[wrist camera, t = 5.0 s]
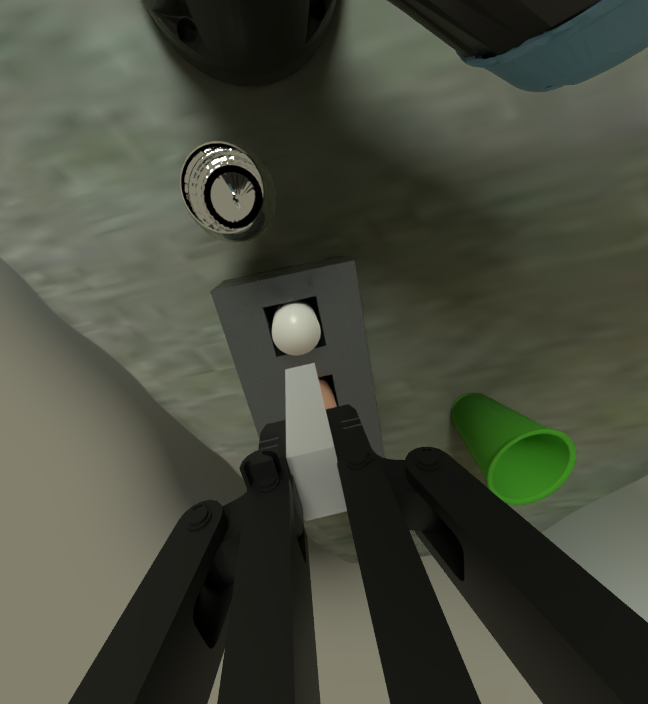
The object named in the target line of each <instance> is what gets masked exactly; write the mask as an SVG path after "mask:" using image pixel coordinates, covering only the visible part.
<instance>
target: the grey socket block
mask: <svg viewBox="0 0 648 704" xmlns="http://www.w3.org/2000/svg"><path fill="white" fill-rule="evenodd" d="M211 294H212V297H213V300H214V303H215V306H216V309H217V312H218V315H219V318H220V321H221V324H222V327H223V330H224V333H225V336H226V339H227V342H228V345H229V348H230V351H231V354H232V357H233V360H234V363H235V366H236V369H237V372H238V375H239V378H240V381H241V384H242V387H243V390H244V393H245V396H246V399H247V402H248V405H249V408H250V411H251V414H252V417H253V420H254V423H255V426H256V429H257V432H258V435H259V438H260V433H261V431H262V430H263V428H264V427H265V425H266V424H269V423H273V422H278V421H282V420H286V395H285V369H290V368H294V367H298V366H303V365H307V364H311V363H315V367H316V371H317V376H318V377H322V376H326V375H329V376H330V381H331V386H332V387H331V389H332V392H333V396H334V399H335V402H336V405H337V407H338V406H342V405H346V404H349V405H350V406H352V407H353V408H355V409H356V411H357V414H358V416H359V418H360V421H361V424H362V426H363V428H364V431H365V433H366V436H367V438H368V441H369V443H370V445H371V448H372V450H373V451H374V452H375V453H376V454H377V455H379V456H381V457H383V458H384V451H383V444H382V438H381V431H380V425H379V418H378V411H377V405H376V398H375V391H374V385H373V378H372V372H371V365H370V358H369V352H368V345H367V338H366V332H365V325H364V319H363V312H362V305H361V299H360V292H359V286H358V279H357V272H356V266H355V260H353V259H350V258H347V257H345V256H337V257H333V258H328V259H323V260H319V261H314V262H309V263H305V264H300V265H295V266H291V267H286V268H281V269H277V270H272V271H267V272H263V273H258V274H253V275H249V276H244V277H239V278H235V279H230V280H225V281H223V282H222V283H220V284H219V285H218V286H217V287H215V288H214V289H213V290H212V291H211ZM309 297H313V300H314V304H315V309H316V314H317V319H318V322H319V325H320V330H321V334H320V339H319V342H318V343H317V345H316V346H315V348H314V349H312V350H311V351H310V352H308V353H306V354H303V355H296V356H295V355H289V354H286V353H284V352H282V351H281V350H280V349H279V348H278V347H277V346H276V345H275V343H274V341H273V338H272V325H273V318H272V314H271V310H270V306H272V305H277V304H282V303H286V302H291V301H295V300H300V299H304V298H309Z"/></svg>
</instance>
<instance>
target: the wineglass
mask: <svg viewBox="0 0 648 704" xmlns="http://www.w3.org/2000/svg"><path fill="white" fill-rule="evenodd" d="M180 192H181V196H182V199H183V202H184V204H185V207H186V209H187V211H188V212H189V214H190V216H191V217H192V218H193V220H194V221H195V222H196V223H197V224H198V225H199V226H200V227H201V228H202V229H203V230H204V231H205V232H207V233H208V234H210V235H211V236H213V237H215V238H218V239H220V240H223V241H227V242H245V241H249V240H251V239H254V238H256V237H257V236H259V235H260V234H261V233H263V232H264V231H265V229H266V228H267V227H268V226H269V224H270V222H271V221H272V218H273V216H274V212H275V208H276V192H275V186H274V183H273V180H272V177H271V175H270V173H269V171H268V170H267V168H266V167H265V165H264V164H263V162H262V161H261V160H260V159H259V158H258V157H257V156H256V155H255V154H253V153H252V152H251V151H249V150H248V149H246V148H244V147H243V146H240V145H238V144H235V143H232V142H227V141H211V142H207V143H204V144H202V145H199V146H198V147H197V148H195V149H194V150H192V151H191V153H190V154H189V155H188V156H187V157H186V159H185V161H184V163H183V165H182V169H181V173H180Z"/></svg>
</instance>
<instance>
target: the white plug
mask: <svg viewBox="0 0 648 704" xmlns="http://www.w3.org/2000/svg"><path fill="white" fill-rule="evenodd" d="M320 334H321V330H320V325H319V322H318V320H317V317H316V315H315V312H314V310H313V307H312V305H311V303H310V301H309V300H308V299H307V298H304V299H300V300H295V301H291V302H286V303H282V304H277V305H275V309H274V317H273V325H272V338H273V341H274V343H275V345H276V346H277V347H278V348H279V349H280V350H281V351H282V352H284V353H286V354H289V355H295V356H296V355H303V354H306V353H308V352H310V351H311V350H312V349H314V348H315V346H316V345H317V343H318V342H319V339H320Z"/></svg>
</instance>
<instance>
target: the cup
mask: <svg viewBox="0 0 648 704" xmlns="http://www.w3.org/2000/svg"><path fill="white" fill-rule="evenodd" d="M451 418H452V421H453V423H454V425H455V427H456V428H457V430H458V432H459V434H460V435H461V437H462V439H463V441H464V442H465V444H466V446H467V447H468V449H469V451H470V453H471V454H472V456H473V458H474V459H475V461H476V463H477V465H478V466H479V468H480V470H481V471H482V473H483V475H484V477H485V478H486V480H487V487H488V489H489V490H491V491H492V492H493V493H494V494H495V495H497V496H498V497H499V498H500V499H501V500H502V501H504V502H505V503H506V504H510V505H525V504H530V503H534V502H536V501H539V500H541V499H543V498H545V497H547V496H549V495H550V494H552V493H553V492H554V491H556V490H557V489H558V488H559V487H561V485H562V484H563V483H564V482H565V481H566V480H567V479H568V477H569V475H570V474H571V472H572V470H573V468H574V465H575V462H576V449H575V445H574V443H573V442H572V440H571V439H570V437H569V436H568V435H566V434H565V433H563V432H562V431H559V430H556V429H549V428H547V427H545V426H543V425H541V424H539V423H537V422H535V421H533V420H531V419H529V418H527V417H525V416H524V415H522V414H520V413H518V412H516V411H514V410H512V409H510V408H508V407H506V406H504V405H502V404H500V403H498V402H496V401H495V400H493V399H491V398H489V397H487V396H485V395H483V394H479V393H469V394H466V395H463V396H462V397H460V398H459V399H458V400H457V401H456V402H455V403H454V405H453V407H452V410H451Z"/></svg>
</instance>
